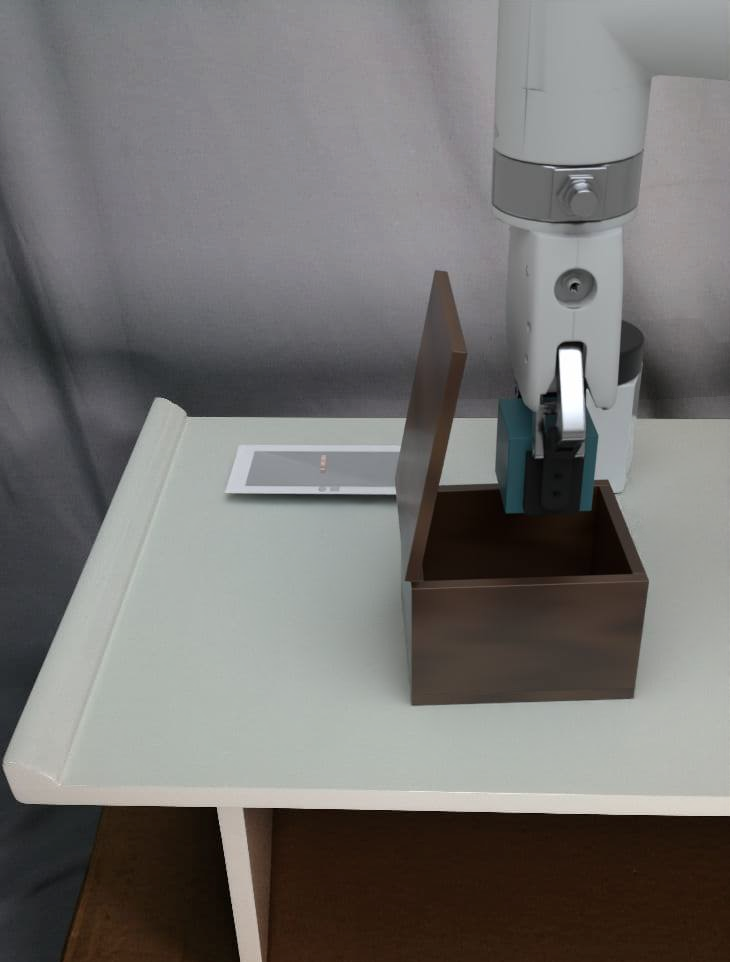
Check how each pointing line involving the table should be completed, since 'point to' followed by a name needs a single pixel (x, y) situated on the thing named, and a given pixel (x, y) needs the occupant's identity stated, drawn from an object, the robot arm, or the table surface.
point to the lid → (429, 422)
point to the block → (518, 440)
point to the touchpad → (314, 469)
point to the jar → (619, 412)
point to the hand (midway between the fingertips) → (543, 484)
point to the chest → (524, 603)
